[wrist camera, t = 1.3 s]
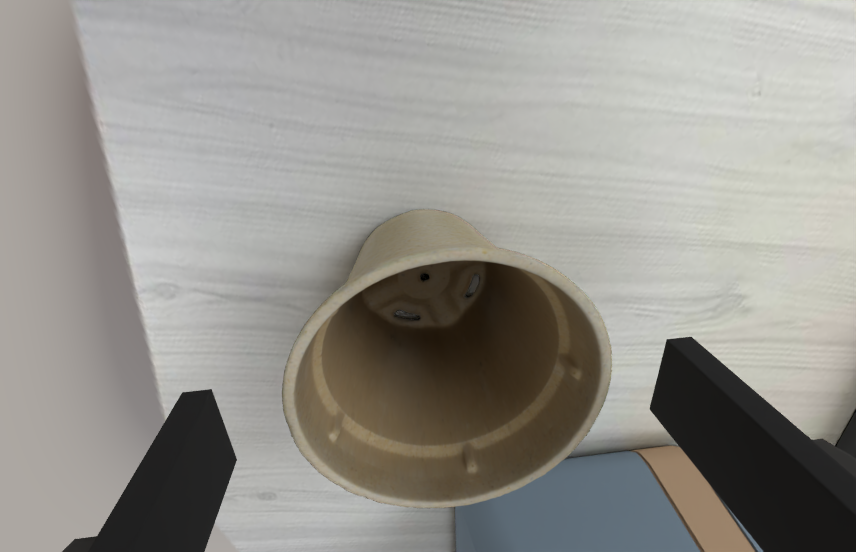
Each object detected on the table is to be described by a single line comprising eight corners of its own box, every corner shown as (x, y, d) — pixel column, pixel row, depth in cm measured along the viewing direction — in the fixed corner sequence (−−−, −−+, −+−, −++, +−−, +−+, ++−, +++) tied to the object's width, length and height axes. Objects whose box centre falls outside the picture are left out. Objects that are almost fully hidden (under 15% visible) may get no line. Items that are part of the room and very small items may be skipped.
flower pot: (299, 179, 17) (238, 274, 10) (525, 157, 18) (637, 230, 10) (338, 362, 22) (317, 528, 14) (519, 339, 22) (594, 486, 14)
